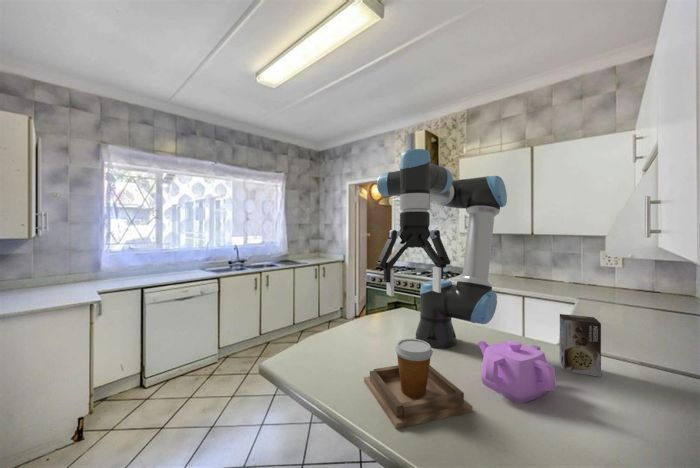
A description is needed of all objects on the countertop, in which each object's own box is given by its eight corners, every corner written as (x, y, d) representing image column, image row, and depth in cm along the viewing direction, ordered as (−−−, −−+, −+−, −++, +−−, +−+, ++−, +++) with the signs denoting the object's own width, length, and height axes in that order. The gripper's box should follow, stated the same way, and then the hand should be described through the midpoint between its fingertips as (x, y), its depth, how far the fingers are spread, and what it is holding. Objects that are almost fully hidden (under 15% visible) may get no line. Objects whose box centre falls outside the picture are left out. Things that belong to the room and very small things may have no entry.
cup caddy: (425, 371, 87) (425, 359, 87) (472, 411, 68) (472, 396, 68) (364, 381, 81) (364, 368, 81) (396, 428, 62) (396, 412, 62)
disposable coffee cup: (434, 404, 69) (434, 354, 68) (394, 399, 71) (394, 351, 70) (430, 383, 78) (431, 339, 78) (395, 379, 80) (395, 336, 80)
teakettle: (485, 399, 73) (486, 351, 73) (476, 368, 89) (476, 328, 89) (563, 411, 68) (564, 360, 68) (538, 376, 84) (539, 334, 84)
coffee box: (593, 368, 89) (594, 316, 89) (601, 377, 83) (602, 323, 83) (558, 362, 93) (559, 313, 93) (563, 371, 87) (564, 318, 87)
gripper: (446, 213, 81) (446, 287, 81) (364, 211, 73) (363, 293, 74) (464, 211, 74) (464, 293, 74) (375, 209, 66) (375, 300, 67)
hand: (414, 293), depth 74 cm, fingers open, 13 cm apart
